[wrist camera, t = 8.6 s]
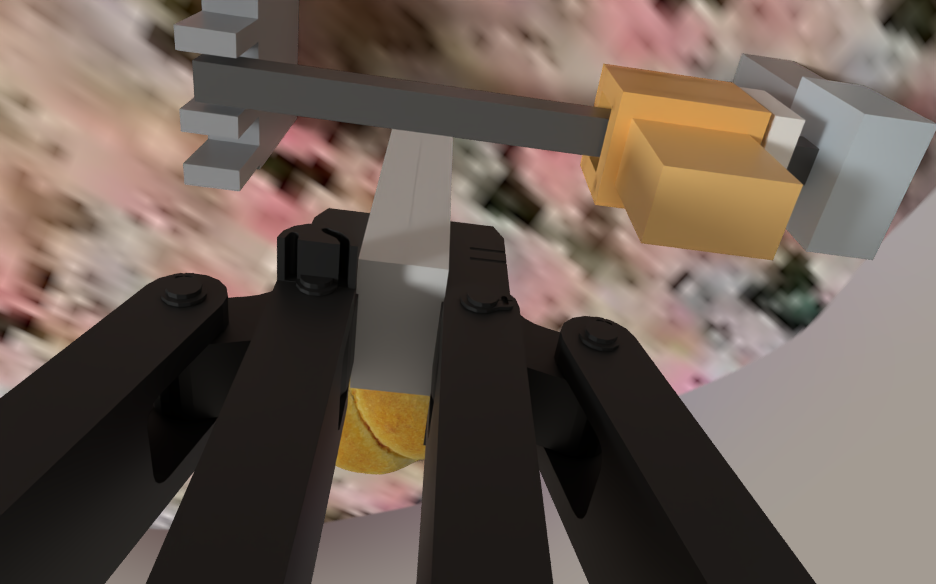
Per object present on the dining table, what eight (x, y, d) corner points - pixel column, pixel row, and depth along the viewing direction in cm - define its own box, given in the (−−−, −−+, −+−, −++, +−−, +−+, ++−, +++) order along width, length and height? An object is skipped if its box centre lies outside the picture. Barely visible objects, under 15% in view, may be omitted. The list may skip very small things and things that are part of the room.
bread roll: (285, 377, 43) (269, 420, 39) (418, 326, 41) (413, 366, 38) (352, 469, 47) (342, 516, 43) (476, 426, 45) (476, 471, 41)
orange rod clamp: (580, 165, 28) (617, 264, 21) (603, 63, 26) (653, 134, 19) (700, 181, 29) (779, 285, 21) (733, 82, 27) (832, 160, 19)
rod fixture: (255, 113, 34) (167, 207, 25) (253, -70, 30) (146, -45, 21) (750, 180, 36) (855, 295, 26) (809, 16, 32) (961, 78, 22)
